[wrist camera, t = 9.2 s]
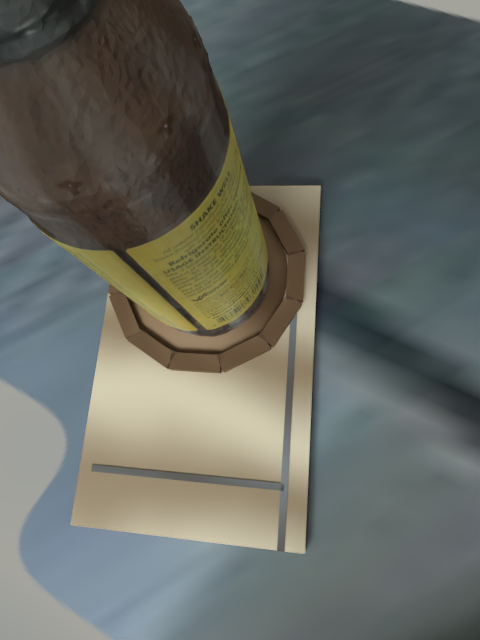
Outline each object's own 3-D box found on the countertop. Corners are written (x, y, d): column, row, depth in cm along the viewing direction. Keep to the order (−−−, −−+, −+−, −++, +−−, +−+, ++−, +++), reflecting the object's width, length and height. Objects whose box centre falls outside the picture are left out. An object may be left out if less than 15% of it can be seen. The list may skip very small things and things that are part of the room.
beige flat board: (305, 550, 20) (304, 556, 19) (76, 522, 21) (65, 526, 20) (320, 191, 24) (321, 181, 23) (129, 192, 25) (122, 182, 25)
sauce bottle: (269, 216, 23) (85, -856, 4) (274, 338, 21) (2, -510, 2) (145, 227, 24) (-488, -618, 5) (141, 345, 22) (-842, -240, 3)
